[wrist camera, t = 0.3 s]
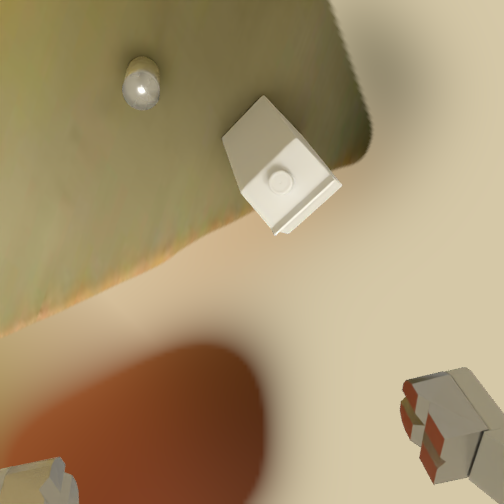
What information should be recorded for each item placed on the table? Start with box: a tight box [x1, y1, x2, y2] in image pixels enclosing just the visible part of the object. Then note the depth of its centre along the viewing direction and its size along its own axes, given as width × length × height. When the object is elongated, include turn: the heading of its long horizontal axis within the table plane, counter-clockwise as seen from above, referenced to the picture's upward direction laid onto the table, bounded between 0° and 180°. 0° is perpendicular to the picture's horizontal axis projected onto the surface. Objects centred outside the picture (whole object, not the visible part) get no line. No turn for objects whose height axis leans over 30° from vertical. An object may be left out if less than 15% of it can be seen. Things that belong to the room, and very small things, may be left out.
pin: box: [122, 56, 160, 110], centre depth 45 cm, size 3×3×8 cm
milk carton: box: [222, 95, 342, 236], centre depth 47 cm, size 7×7×19 cm
